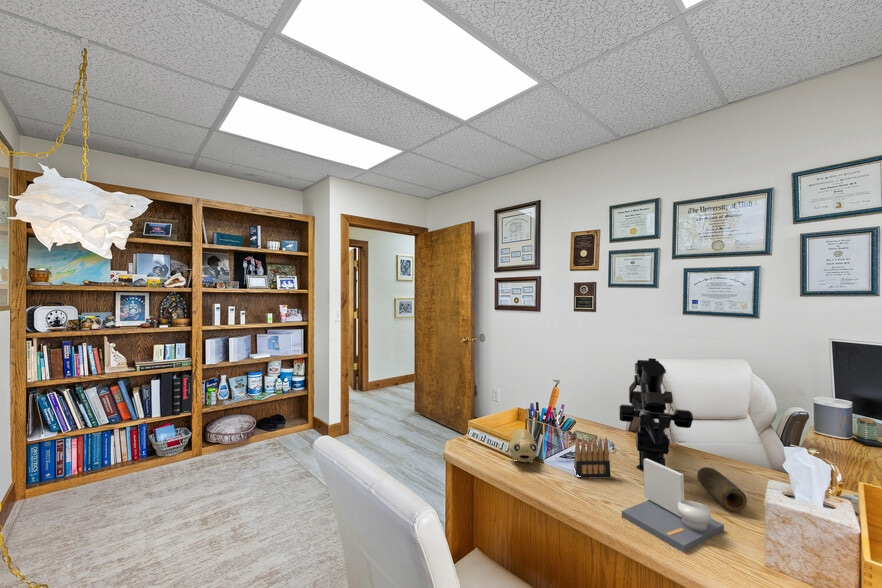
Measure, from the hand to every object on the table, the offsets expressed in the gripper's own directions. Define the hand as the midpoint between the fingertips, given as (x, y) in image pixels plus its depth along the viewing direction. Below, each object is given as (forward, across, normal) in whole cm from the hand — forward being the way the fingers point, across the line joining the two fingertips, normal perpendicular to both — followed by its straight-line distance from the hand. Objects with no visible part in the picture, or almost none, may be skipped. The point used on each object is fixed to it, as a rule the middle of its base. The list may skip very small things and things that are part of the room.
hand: (657, 443), depth 106 cm
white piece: (+18, +2, -2) cm, 18 cm away
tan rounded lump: (+6, -39, +14) cm, 42 cm away
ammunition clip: (+8, -18, +12) cm, 22 cm away
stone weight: (+9, +15, +11) cm, 21 cm away
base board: (+21, +1, -2) cm, 21 cm away
